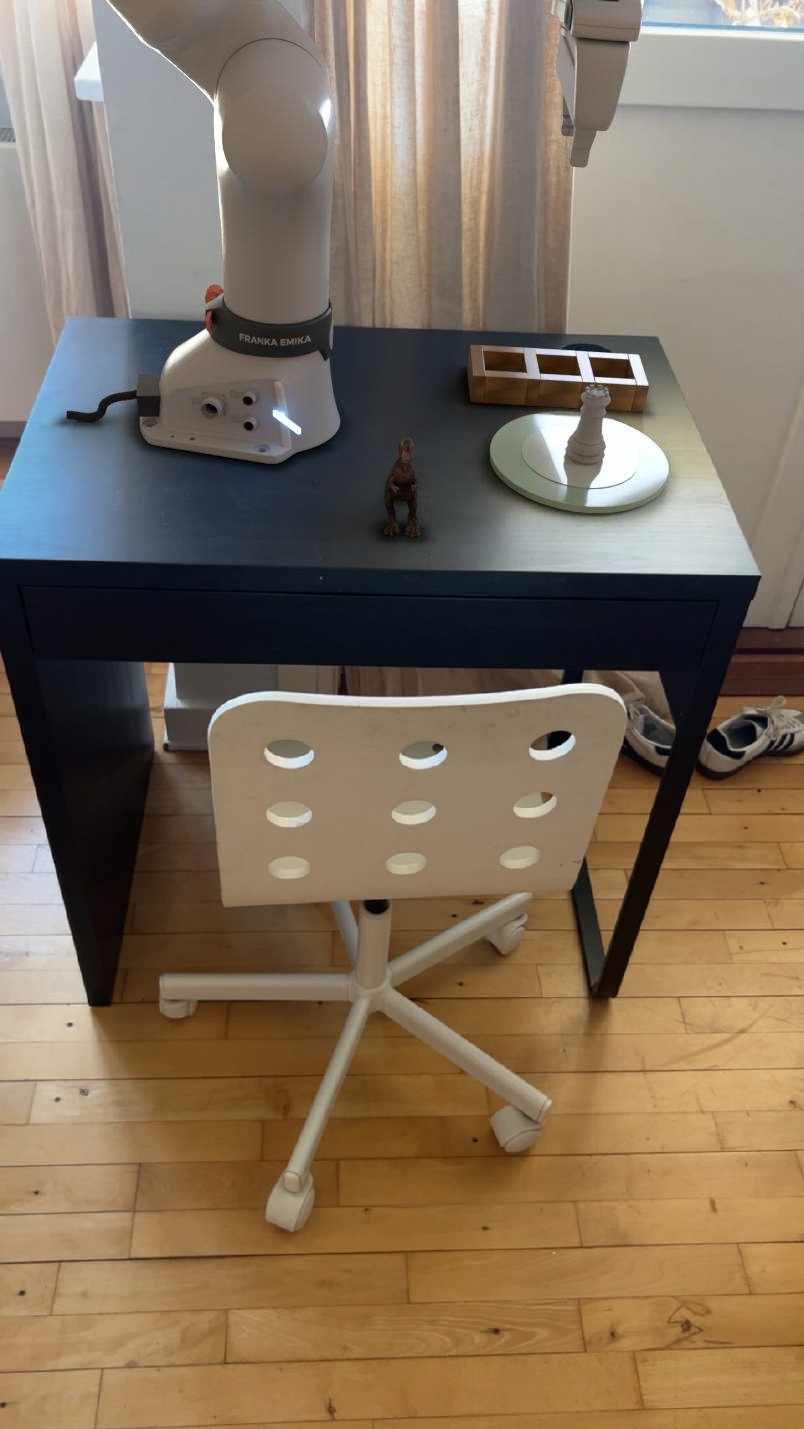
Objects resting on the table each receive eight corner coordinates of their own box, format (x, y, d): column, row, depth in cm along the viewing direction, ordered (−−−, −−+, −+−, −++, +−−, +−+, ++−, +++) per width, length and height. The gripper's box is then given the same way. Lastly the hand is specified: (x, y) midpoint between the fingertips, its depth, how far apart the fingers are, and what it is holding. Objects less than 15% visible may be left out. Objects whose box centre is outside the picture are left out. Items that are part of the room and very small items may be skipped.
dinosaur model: (393, 445, 108) (390, 377, 119) (380, 553, 115) (378, 479, 127) (436, 449, 108) (428, 380, 119) (420, 556, 116) (415, 482, 127)
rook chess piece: (557, 457, 129) (569, 391, 123) (575, 440, 131) (588, 375, 126) (593, 471, 127) (606, 404, 122) (611, 454, 130) (625, 389, 124)
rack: (470, 402, 139) (473, 375, 137) (467, 370, 145) (470, 344, 142) (643, 412, 140) (649, 386, 138) (633, 380, 146) (639, 354, 143)
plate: (494, 511, 122) (496, 500, 121) (484, 415, 137) (485, 405, 136) (681, 521, 123) (684, 511, 122) (651, 425, 138) (653, 415, 137)
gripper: (555, -31, 118) (534, 115, 128) (575, 20, 104) (551, 181, 113) (616, -26, 119) (591, 119, 128) (645, 26, 104) (614, 186, 113)
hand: (572, 149), depth 120 cm, fingers open, 8 cm apart
